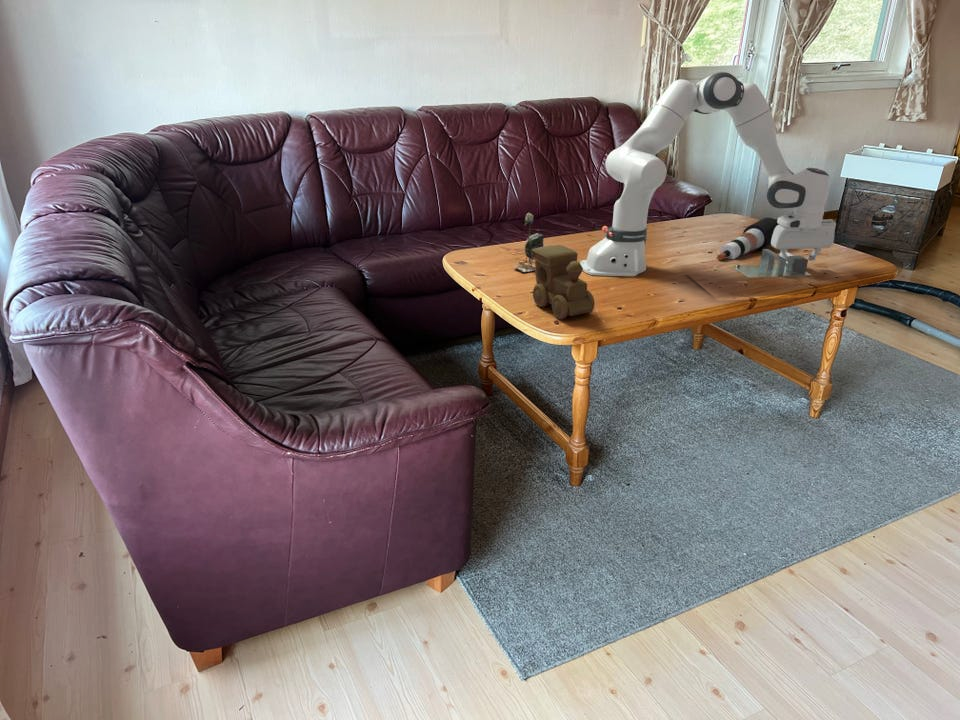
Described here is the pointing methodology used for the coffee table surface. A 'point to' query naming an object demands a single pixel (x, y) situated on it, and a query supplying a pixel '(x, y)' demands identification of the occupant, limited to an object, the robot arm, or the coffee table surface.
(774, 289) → the coffee table surface
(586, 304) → the wooden toy train
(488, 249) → the coffee table surface
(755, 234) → the cable
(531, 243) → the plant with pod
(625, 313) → the coffee table surface
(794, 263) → the plug
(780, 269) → the housing
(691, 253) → the coffee table surface
